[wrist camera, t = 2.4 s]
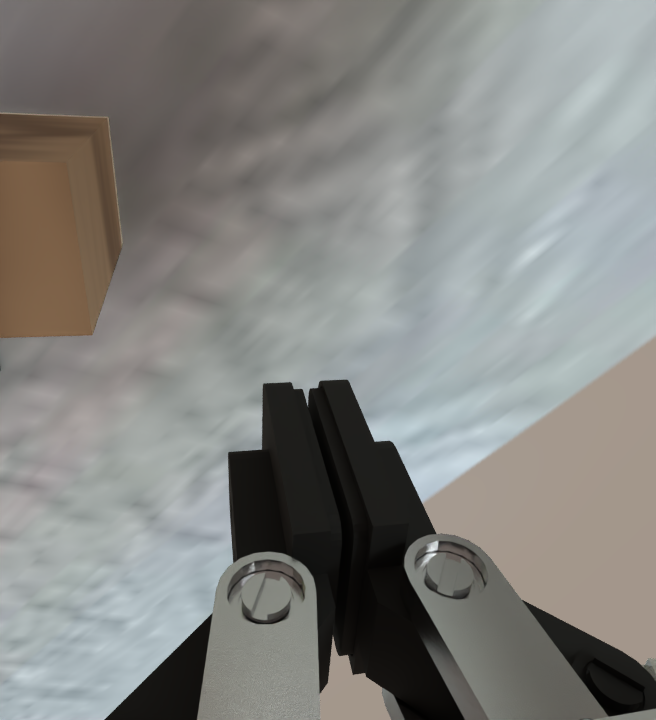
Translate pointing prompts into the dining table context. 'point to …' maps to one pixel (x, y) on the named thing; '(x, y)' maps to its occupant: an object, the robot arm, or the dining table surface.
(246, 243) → the dining table surface
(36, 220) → the brown rectangular block
